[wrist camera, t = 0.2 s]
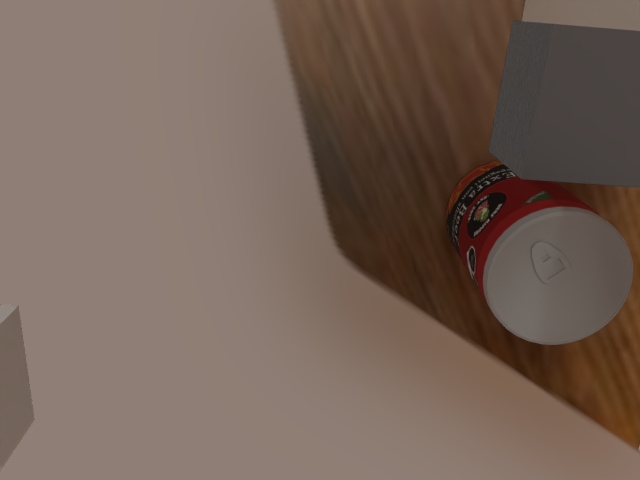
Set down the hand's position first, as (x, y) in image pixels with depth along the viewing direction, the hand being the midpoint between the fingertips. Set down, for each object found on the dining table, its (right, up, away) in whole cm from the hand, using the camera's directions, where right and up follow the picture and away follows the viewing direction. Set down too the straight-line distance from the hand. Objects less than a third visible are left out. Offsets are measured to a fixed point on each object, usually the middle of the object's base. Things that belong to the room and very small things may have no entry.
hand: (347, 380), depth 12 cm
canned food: (+12, +5, +29) cm, 32 cm away
